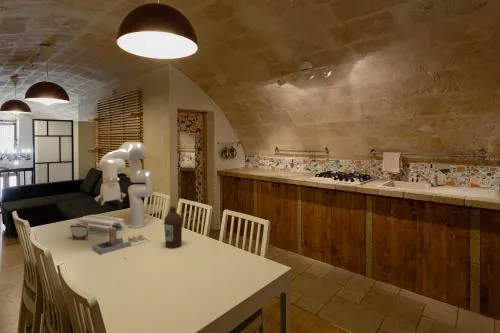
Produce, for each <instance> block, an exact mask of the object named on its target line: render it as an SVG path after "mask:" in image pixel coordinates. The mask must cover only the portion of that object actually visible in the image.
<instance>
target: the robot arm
mask: <svg viewBox="0 0 500 333" xmlns="http://www.w3.org/2000/svg"><path fill="white" fill-rule="evenodd" d="M148 158H149V150H148V148H147V147H146V145H145V144H144V143H143V142H142V141H141V142H140V141H124V142H123V143H122V144H120V146H119V148H118V149H116V150H114V151H110V152H108V153H106V154H104V155H103V156H102V157H101V158H100V160H99V161H98V162H99V163H98V167H99V170H101V171H102V183H101V185H100V192H99V193H100V194H99V195H98V196H96V197H94V200H95V201H96V203H97V204H99V206H100V207H99V208H100V211H101V212H102V213H104V212H105V210H106V209H105V208H106V207H105V203H106V202H110V201H116V200H117V208H118V209H122V207H123V201H124V200H125V197H126V196H127V194H126V193H124V192H121V186H120V183H119V181H120V177H118V172H122V171H123V170H124V169H125V167H126V161H127V162H128V165H129V166H128V167H129V179H130V182H131V183H136V184H131V185H129V186H128V187H127V193H128V198H129V216H130V217H129V218H130V223H128V227H129V228H131V229H140V228H143V227H146V226H147V222H150V221H151V218H145V210H144V208H145V206H144V201H143V199H142V198H150V197H152V196H153V193H154V183H153V182H154V180H153V179H154V178H153V173H152V171H151V170H150V169H143V166H142V162H141V160H147V159H148ZM139 183H140V184H139ZM141 183H142V184H141ZM143 183H144V184H143Z"/></svg>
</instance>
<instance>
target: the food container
mask: <svg viewBox="0 0 500 333" xmlns="http://www.w3.org/2000/svg"><path fill="white" fill-rule="evenodd" d="M75 223H76V224H75ZM75 223H72V224H70V225H69V228H70V233H71V238H72V241H84V240H86V241H88V239H89V234H88V228H89V224H88V223H77V222H75Z"/></svg>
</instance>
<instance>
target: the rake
mask: <svg viewBox="0 0 500 333" xmlns="http://www.w3.org/2000/svg"><path fill="white" fill-rule="evenodd" d="M117 235H118V234H116V228H109V237H108V239H109V240H108V241H109V242H108V247H110V246H114V245H118V244H117V239H118V238H117Z"/></svg>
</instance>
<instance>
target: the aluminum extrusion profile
mask: <svg viewBox="0 0 500 333" xmlns="http://www.w3.org/2000/svg"><path fill="white" fill-rule="evenodd" d="M77 219H78V221H77V222H74V224H76V223H88V224H89V228H88V235H91V236H98V237H103V238H109V228H116V234H117V235H118V234H120V233H122V232H125V222H124V221H125V219H124V218H119V217H118V218H117V217H111V216H104V215H97V214H90V215H89V214H87V215H83V217H79V218H77Z"/></svg>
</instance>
